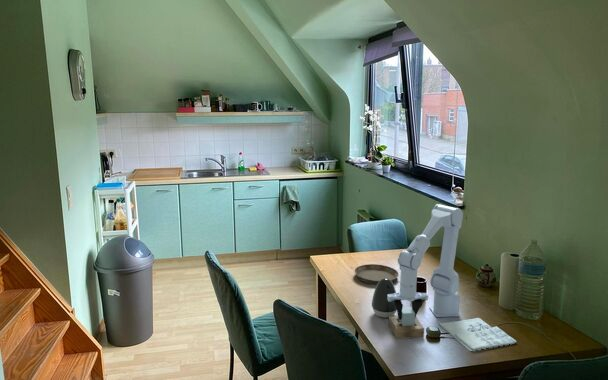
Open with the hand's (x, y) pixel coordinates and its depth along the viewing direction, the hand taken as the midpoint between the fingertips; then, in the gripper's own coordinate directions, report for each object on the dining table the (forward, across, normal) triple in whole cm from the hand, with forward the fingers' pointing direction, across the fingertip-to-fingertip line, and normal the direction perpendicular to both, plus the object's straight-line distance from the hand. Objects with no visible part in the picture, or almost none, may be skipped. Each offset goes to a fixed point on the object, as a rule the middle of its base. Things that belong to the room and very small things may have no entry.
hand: (406, 318), depth 167 cm
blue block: (+2, 0, 0) cm, 2 cm away
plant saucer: (+6, +1, +50) cm, 50 cm away
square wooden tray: (+5, 0, 0) cm, 5 cm away
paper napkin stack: (+6, +25, -4) cm, 26 cm away
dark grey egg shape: (+5, -5, +13) cm, 15 cm away
